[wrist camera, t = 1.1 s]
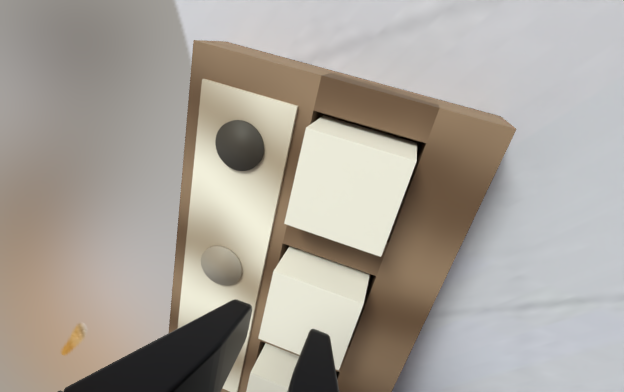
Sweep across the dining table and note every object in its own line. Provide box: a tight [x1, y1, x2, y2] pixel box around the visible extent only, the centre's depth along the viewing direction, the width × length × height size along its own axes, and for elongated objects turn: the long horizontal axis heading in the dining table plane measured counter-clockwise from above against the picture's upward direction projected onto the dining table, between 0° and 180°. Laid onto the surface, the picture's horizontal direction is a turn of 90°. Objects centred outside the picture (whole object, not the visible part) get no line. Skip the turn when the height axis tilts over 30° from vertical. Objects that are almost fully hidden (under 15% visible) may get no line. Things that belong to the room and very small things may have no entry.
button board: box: [169, 40, 516, 392], centre depth 21 cm, size 22×14×3 cm, turn 166°
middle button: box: [258, 246, 370, 370], centre depth 19 cm, size 4×4×3 cm
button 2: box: [246, 343, 299, 392], centre depth 22 cm, size 4×4×3 cm
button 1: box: [284, 115, 417, 257], centre depth 16 cm, size 4×4×3 cm
